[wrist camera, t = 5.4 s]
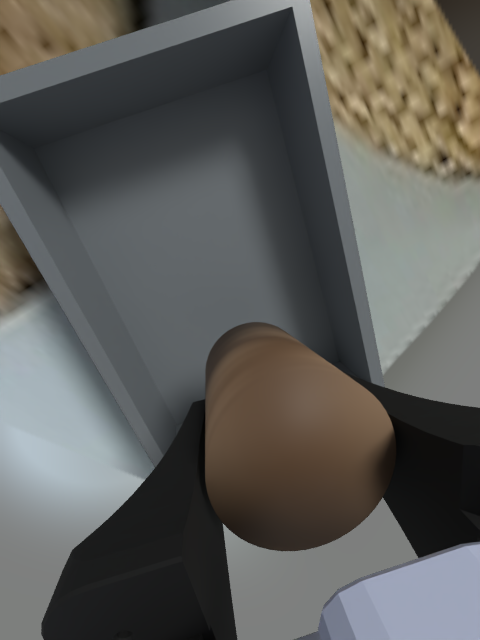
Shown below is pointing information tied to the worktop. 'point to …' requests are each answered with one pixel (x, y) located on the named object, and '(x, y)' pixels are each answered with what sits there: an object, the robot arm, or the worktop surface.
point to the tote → (187, 200)
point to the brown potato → (290, 441)
